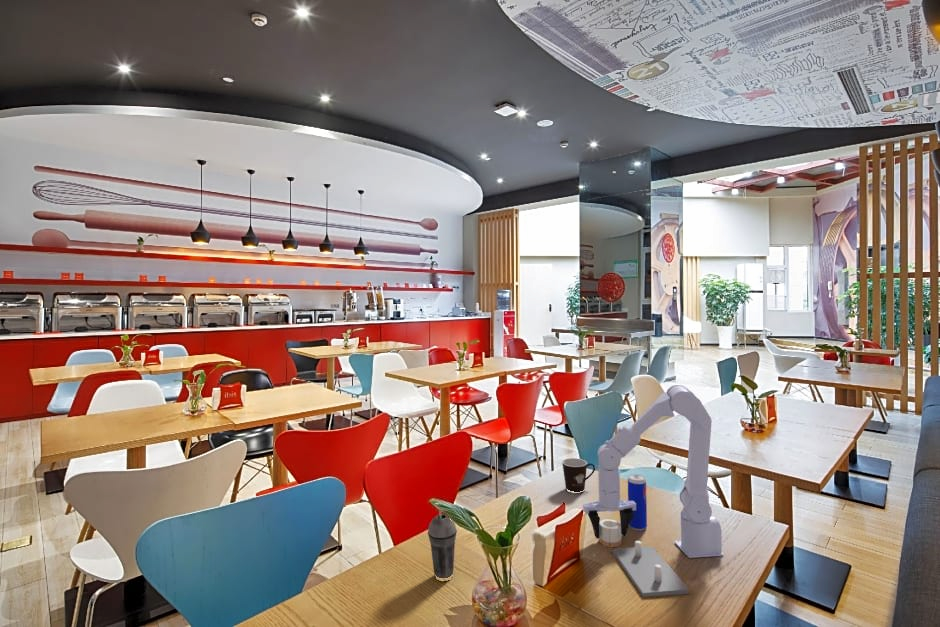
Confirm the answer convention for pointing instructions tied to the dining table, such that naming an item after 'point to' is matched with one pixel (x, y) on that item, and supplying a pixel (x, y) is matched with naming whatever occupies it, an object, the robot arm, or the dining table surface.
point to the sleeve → (610, 533)
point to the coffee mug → (575, 473)
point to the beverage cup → (442, 545)
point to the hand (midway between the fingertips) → (610, 535)
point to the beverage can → (638, 501)
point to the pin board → (649, 571)
